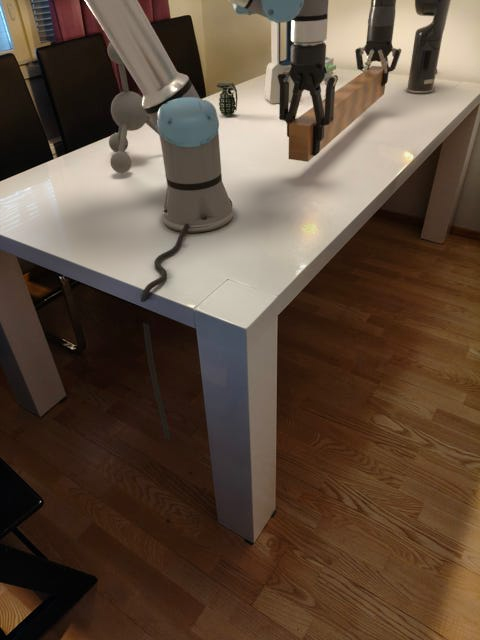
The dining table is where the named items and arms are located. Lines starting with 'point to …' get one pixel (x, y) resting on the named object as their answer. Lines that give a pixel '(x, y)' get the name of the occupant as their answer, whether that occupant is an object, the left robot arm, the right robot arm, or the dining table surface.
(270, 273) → the dining table surface
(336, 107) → the beam
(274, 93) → the electronic device
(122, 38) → the left robot arm
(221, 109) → the grenade
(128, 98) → the molecular model
